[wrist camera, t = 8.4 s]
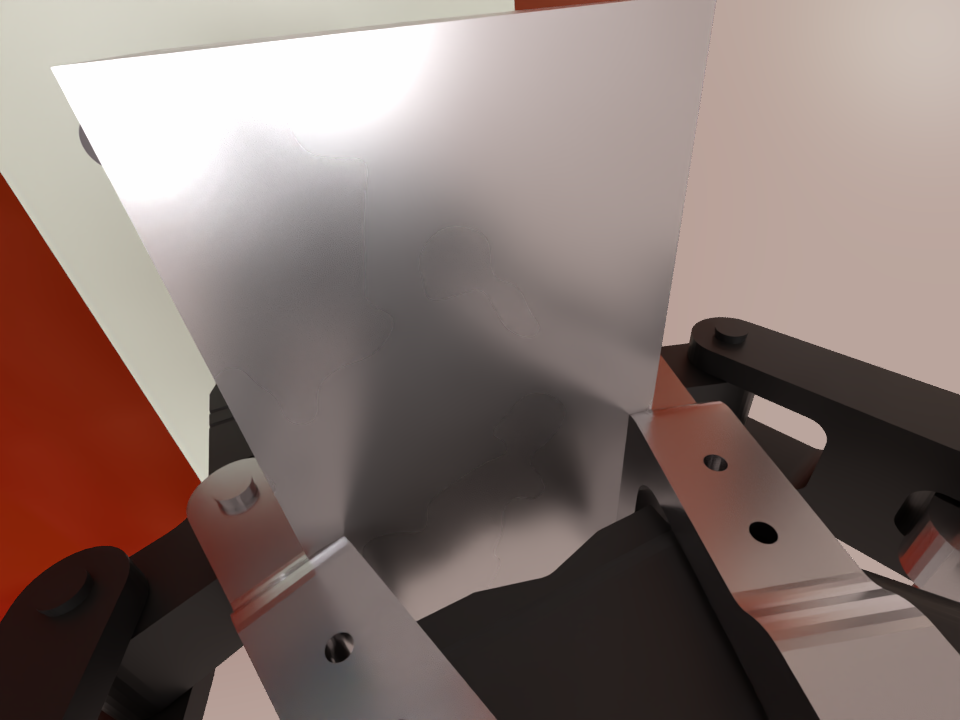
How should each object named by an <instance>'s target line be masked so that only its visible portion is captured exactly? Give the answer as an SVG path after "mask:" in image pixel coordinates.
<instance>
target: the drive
mask: <svg viewBox="0 0 960 720" xmlns="http://www.w3.org/2000/svg"><path fill="white" fill-rule="evenodd" d="M715 6H716V0H618V1H608V2H598V3H588V4H578V5H568V6H558V7H548V8H538V9H528V10H518V11H508V12H497V13H487V14H477V15H467V16H457V17H447V18H437V19H427V20H418V21H409V22H400V23H391V24H382V25H373V26H364V27H355V28H346V29H337V30H328V31H319V32H310V33H301V34H292V35H283V36H274V37H265V38H256V39H247V40H238V41H229V42H220V43H211V44H202V45H193V46H184V47H176V48H167V49H159V50H153V51H147V52H140V53H134V54H128V55H122V56H116V57H109V58H103V59H97V60H91V61H85V62H79V63H72V64H66V65H60V66H54V67H51V69H52V71H53V73H54V75H55V76H56V78H57V80H58V82H59V84H60V86H61V88H62V90H63V92H64V94H65V96H66V97H67V99H68V101H69V103H70V105H71V107H72V109H73V111H74V113H75V115H76V117H77V118H78V120H79V122H80V124H81V126H82V128H83V130H84V132H85V134H86V136H87V138H88V139H89V141H90V143H91V145H92V147H93V149H94V151H95V153H96V155H97V157H98V159H99V160H100V162H101V164H102V166H103V168H104V170H105V172H106V174H107V176H108V178H109V180H110V181H111V183H112V185H113V187H114V189H115V191H116V193H117V195H118V197H119V199H120V201H121V202H122V204H123V206H124V208H125V210H126V212H127V214H128V216H129V218H130V220H131V222H132V223H133V225H134V227H135V229H136V231H137V233H138V235H139V237H140V239H141V241H142V243H143V244H144V246H145V248H146V250H147V252H148V254H149V256H150V258H151V260H152V262H153V264H154V265H155V267H156V269H157V271H158V273H159V275H160V277H161V279H162V281H163V283H164V285H165V287H166V288H167V290H168V292H169V294H170V296H171V298H172V300H173V302H174V304H175V306H176V308H177V309H178V311H179V313H180V315H181V317H182V319H183V321H184V323H185V325H186V327H187V329H188V330H189V332H190V334H191V336H192V338H193V340H194V342H195V344H196V346H197V348H198V350H199V351H200V353H201V355H202V357H203V359H204V361H205V363H206V365H207V367H208V369H209V371H210V372H211V374H212V376H213V378H214V380H215V382H216V384H217V386H218V388H219V390H220V392H221V393H222V395H223V397H224V399H225V401H226V403H227V405H228V407H229V409H230V411H231V413H232V414H233V416H234V418H235V420H236V422H237V424H238V426H239V428H240V430H241V432H242V434H243V435H244V437H245V439H246V441H247V443H248V445H249V447H250V449H251V451H252V453H253V455H254V456H255V458H256V460H257V462H258V464H259V466H260V468H261V470H262V472H263V474H264V476H265V477H266V479H267V481H268V483H269V485H270V487H271V489H272V491H273V493H274V495H275V497H276V498H277V500H278V502H279V504H280V506H281V508H282V510H283V512H284V514H285V516H286V518H287V519H288V521H289V523H290V525H291V527H292V529H293V531H294V533H295V535H296V537H297V539H298V540H299V542H300V544H301V546H302V548H303V550H304V552H305V554H306V556H307V558H308V557H309V556H311V555H312V554H314V553H315V552H317V551H318V550H320V549H321V548H323V547H325V546H326V545H328V544H330V543H332V542H333V541H335V540H337V539H338V538H340V537H342V536H345V537H346V538H347V539H348V540H349V541H350V542H351V543H352V545H353V546H354V547H355V548H356V549H357V551H358V552H359V553H360V554H361V555H362V557H363V558H364V559H365V560H366V561H367V563H368V564H369V565H370V566H371V568H372V569H373V570H374V571H375V572H376V574H377V575H378V576H379V577H380V578H381V580H382V581H383V582H384V583H385V585H386V586H387V587H388V588H389V589H390V591H391V592H392V593H393V594H394V595H395V597H396V598H397V599H398V600H399V602H400V603H401V604H402V605H403V606H404V608H405V609H406V610H407V611H408V612H409V614H410V615H411V616H412V617H413V618H414V620H415V621H418V620H420V619H422V618H424V617H426V616H428V615H430V614H432V613H434V612H436V611H438V610H440V609H442V608H444V607H446V606H448V605H450V604H452V603H454V602H456V601H458V600H460V599H462V598H464V597H466V596H468V595H470V594H472V593H474V592H478V591H483V590H487V589H492V588H497V587H501V586H506V585H510V584H515V583H520V582H524V581H529V580H533V579H538V578H542V577H545V576H548V575H550V574H551V573H552V572H554V571H555V570H556V569H557V568H558V567H559V566H560V565H561V564H562V563H564V562H565V561H566V560H567V559H568V558H569V557H570V556H571V555H572V554H573V553H574V552H575V551H577V550H578V549H579V548H580V547H581V546H582V545H583V544H584V543H585V542H586V541H587V540H588V539H589V538H591V537H592V536H593V535H594V534H595V533H596V532H597V531H598V530H600V529H602V528H604V527H606V526H608V525H610V524H612V523H614V522H616V518H617V510H618V501H619V493H620V485H621V477H622V468H623V460H624V452H625V444H626V435H627V427H628V419H629V414H633V413H637V412H641V411H647V410H652V403H653V397H654V391H655V384H656V378H657V372H658V366H659V359H660V353H661V347H662V340H663V334H664V328H665V321H666V315H667V308H668V303H669V296H670V290H671V284H672V277H673V271H674V264H675V258H676V252H677V246H678V240H679V233H680V227H681V221H682V214H683V208H684V202H685V196H686V189H687V183H688V176H689V170H690V164H691V157H692V151H693V145H694V138H695V133H696V126H697V119H698V114H699V107H700V101H701V95H702V88H703V82H704V76H705V70H706V63H707V56H708V51H709V44H710V38H711V32H712V25H713V19H714V13H715Z"/></svg>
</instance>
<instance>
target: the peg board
mask: <svg viewBox="0 0 960 720" xmlns="http://www.w3.org/2000/svg"><path fill="white" fill-rule="evenodd" d="M508 11H515V7H514V0H0V172H1V174H2V175H3V177H4V178H5V180H6V181H7V183H8V184H9V186H10V187H11V189H12V191H13V192H14V194H15V195H16V197H17V198H18V200H19V201H20V203H21V204H22V206H23V207H24V209H25V211H26V212H27V214H28V215H29V217H30V218H31V220H32V221H33V223H34V224H35V226H36V228H37V229H38V231H39V232H40V234H41V235H42V237H43V238H44V240H45V241H46V243H47V244H48V246H49V248H50V249H51V251H52V252H53V254H54V255H55V257H56V258H57V260H58V261H59V263H60V265H61V266H62V268H63V269H64V271H65V272H66V274H67V275H68V277H69V278H70V280H71V281H72V283H73V285H74V286H75V288H76V289H77V291H78V292H79V294H80V295H81V297H82V298H83V300H84V302H85V303H86V305H87V306H88V308H89V309H90V311H91V312H92V314H93V315H94V317H95V318H96V320H97V322H98V323H99V325H100V326H101V328H102V329H103V331H104V332H105V334H106V335H107V337H108V339H109V340H110V342H111V343H112V345H113V346H114V348H115V349H116V351H117V352H118V354H119V355H120V357H121V359H122V360H123V362H124V363H125V365H126V366H127V368H128V369H129V371H130V372H131V374H132V376H133V377H134V379H135V380H136V382H137V383H138V385H139V386H140V388H141V389H142V391H143V392H144V394H145V396H146V397H147V399H148V400H149V402H150V403H151V405H152V406H153V408H154V409H155V411H156V413H157V414H158V416H159V417H160V419H161V420H162V422H163V423H164V425H165V426H166V428H167V429H168V431H169V433H170V434H171V436H172V437H173V439H174V440H175V442H176V443H177V445H178V446H179V448H180V450H181V451H182V453H183V454H184V456H185V457H186V459H187V460H188V462H189V463H190V465H191V466H192V468H193V470H194V471H195V473H196V474H197V476H198V477H199V479H200V480H201V482H203V481H204V480H205V479H206V478H207V477H208V472H209V428H210V426H209V414H210V411H209V394H210V393H211V391H212V390H213V388H214V386H215V385H216V382H215V380H214V378H213V376H212V374H211V372H210V371H209V369H208V367H207V365H206V363H205V361H204V359H203V357H202V355H201V353H200V351H199V350H198V348H197V346H196V344H195V342H194V340H193V338H192V336H191V334H190V332H189V330H188V329H187V327H186V325H185V323H184V321H183V319H182V317H181V315H180V313H179V311H178V309H177V308H176V306H175V304H174V302H173V300H172V298H171V296H170V294H169V292H168V290H167V288H166V287H165V285H164V283H163V281H162V279H161V277H160V275H159V273H158V271H157V269H156V267H155V265H154V264H153V262H152V260H151V258H150V256H149V254H148V252H147V250H146V248H145V246H144V244H143V243H142V241H141V239H140V237H139V235H138V233H137V231H136V229H135V227H134V225H133V223H132V222H131V220H130V218H129V216H128V214H127V212H126V210H125V208H124V206H123V204H122V202H121V201H120V199H119V197H118V195H117V193H116V191H115V189H114V187H113V185H112V183H111V181H110V180H109V178H108V176H107V174H106V172H105V170H104V168H103V166H102V164H101V162H100V160H99V159H98V157H97V155H96V153H95V151H94V149H93V147H92V145H91V143H90V141H89V139H88V138H87V136H86V134H85V132H84V130H83V128H82V126H81V124H80V122H79V120H78V118H77V117H76V115H75V113H74V111H73V109H72V107H71V105H70V103H69V101H68V99H67V97H66V96H65V94H64V92H63V90H62V88H61V86H60V84H59V82H58V80H57V78H56V76H55V75H54V73H53V71H52V69H51V67H54V66H60V65H66V64H72V63H79V62H85V61H91V60H97V59H103V58H109V57H116V56H122V55H128V54H134V53H140V52H147V51H153V50H159V49H167V48H176V47H184V46H193V45H202V44H211V43H220V42H229V41H238V40H247V39H256V38H265V37H274V36H283V35H292V34H301V33H310V32H319V31H328V30H337V29H346V28H355V27H364V26H373V25H382V24H391V23H400V22H409V21H418V20H427V19H437V18H447V17H457V16H467V15H477V14H487V13H497V12H508Z"/></svg>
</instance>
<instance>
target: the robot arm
mask: <svg viewBox="0 0 960 720" xmlns="http://www.w3.org/2000/svg"><path fill="white" fill-rule="evenodd" d="M754 395H758V396H760V397H762V398H764V399H767V400H769V401H771V402H774V403H776V404H778V405H780V406H783V407H785V408H787V409H790V410H792V411H794V412H797V413H799V414H801V415H803V416H806V417H808V418H810V419H812V420H814V421H815V422H817V423H818V424H819V425H820V426H821V427H822V428H823V430H824V431H825V433H826V436H827V443H826V446H825V448H824V450H819V449H815V448H813V447H811V446H809V445H806V444H804V443H802V442H800V441H798V440H796V439H794V438H792V437H790V436H787V435H785V434H783V433H781V432H779V431H776V430H775V429H773V428H771V427H768V426H766V425H764V424H762V423H760V422H758V421H755V420H754V419H751V418H749V417H748V413H749V410H750V407H751V404H752V401H753V398H754ZM209 411H210V414H209V426H210V428H209V472H208V477H207V478H206V479H205V480H204V481H203V482H202V483H200V485H199V486H198V487H197V488H196V489H195V491H194V492H193V494H192V495H191V497H190V499H189V502H188V505H187V518H186V519H185V520H184V521H183V522H182V523H181V524H180V525H178V526H177V527H176V528H175V529H173V530H172V531H170V532H169V533H167V534H166V535H164V536H162V537H161V538H159V539H158V540H156V541H154V542H153V543H151V544H150V545H148V546H146V547H145V548H143V549H142V550H140V551H138V552H137V553H135V554H134V555H132V556H130V557H128V556H127V555H126V554H125V553H124V551H122V550H121V549H119V548H116V547H112V546H99V547H93V548H89V549H85V550H82V551H80V552H77V553H75V554H72V555H70V556H68V557H66V558H64V559H63V560H61V561H59V562H57V563H56V564H54V565H53V566H51V567H50V568H48V569H47V570H45V571H44V572H43V573H42V574H40V575H39V576H38V577H37V578H35V579H34V580H33V581H32V582H31V583H30V584H29V585H28V586H27V587H26V588H25V589H24V590H23V591H22V592H21V594H20V595H19V596H18V597H17V598H16V600H15V601H14V603H13V604H12V605H11V607H10V608H9V610H8V612H7V613H6V615H5V616H4V618H3V619H2V621H1V622H0V720H202V719H203V715H204V711H205V707H206V704H207V700H208V696H209V692H210V688H211V685H212V681H213V677H214V672H215V668H216V667H217V666H219V665H220V664H221V663H222V662H223V661H224V660H226V659H227V658H228V657H229V656H231V655H232V654H233V653H235V652H236V651H237V650H238V649H240V648H241V647H242V646H243V645H244V647H245V649H246V651H247V653H248V655H249V657H250V659H251V661H252V663H253V665H254V667H255V669H256V671H257V674H258V676H259V677H260V680H261V682H262V684H263V686H264V688H265V690H266V692H267V694H268V696H269V698H270V700H271V702H272V704H273V706H274V708H275V710H276V712H277V714H278V716H279V718H280V720H960V395H959V394H956V393H953V392H950V391H947V390H944V389H941V388H938V387H936V386H933V385H930V384H927V383H924V382H921V381H918V380H915V379H912V378H909V377H907V376H903V375H901V374H898V373H895V372H892V371H889V370H886V369H883V368H880V367H877V366H874V365H871V364H869V363H866V362H863V361H860V360H857V359H854V358H851V357H848V356H846V355H842V354H840V353H837V352H834V351H831V350H828V349H825V348H822V347H819V346H816V345H813V344H810V343H808V342H805V341H802V340H799V339H796V338H793V337H790V336H788V335H785V334H782V333H779V332H776V331H773V330H770V329H767V328H764V327H761V326H758V325H755V324H753V323H750V322H747V321H743V320H740V319H734V318H726V317H725V318H724V317H718V318H709V319H705V320H702V321H700V322H698V323H696V324H695V326H693V328H692V332H691V337H690V342H689V343H688V344H680V345H672V346H664V347H661V353H660V359H659V366H658V372H657V378H656V384H655V391H654V397H653V403H652V410H647V411H641V412H637V413H633V414H629V419H628V427H627V435H626V444H625V452H624V460H623V468H622V477H621V485H620V493H619V501H618V510H617V518H616V522H614V523H612V524H610V525H608V526H606V527H604V528H602V529H600V530H598V531H597V532H596V533H595V534H594V535H593V536H592V537H591V538H589V539H588V540H587V541H586V542H585V543H584V544H583V545H582V546H581V547H580V548H579V549H578V550H577V551H575V552H574V553H573V554H572V555H571V556H570V557H569V558H568V559H567V560H566V561H565V562H564V563H562V564H561V565H560V566H559V567H558V568H557V569H556V570H555V571H554V572H552V573H551V574H550V575H548V576H545V577H542V578H538V579H533V580H529V581H524V582H520V583H515V584H510V585H506V586H501V587H497V588H492V589H487V590H483V591H478V592H474V593H472V594H470V595H468V596H466V597H464V598H462V599H460V600H458V601H456V602H454V603H452V604H450V605H448V606H446V607H444V608H442V609H440V610H438V611H436V612H434V613H432V614H430V615H428V616H426V617H424V618H422V619H420V620H418V621H415V620H414V618H413V617H412V616H411V615H410V614H409V612H408V611H407V610H406V609H405V608H404V606H403V605H402V604H401V603H400V602H399V600H398V599H397V598H396V597H395V595H394V594H393V593H392V592H391V591H390V589H389V588H388V587H387V586H386V585H385V583H384V582H383V581H382V580H381V578H380V577H379V576H378V575H377V574H376V572H375V571H374V570H373V569H372V568H371V566H370V565H369V564H368V563H367V561H366V560H365V559H364V558H363V557H362V555H361V554H360V553H359V552H358V551H357V549H356V548H355V547H354V546H353V545H352V543H351V542H350V541H349V540H348V539H347V538H346V537H345V536H342V537H340V538H338V539H337V540H335V541H333V542H332V543H330V544H328V545H326V546H325V547H323V548H321V549H320V550H318V551H317V552H315V553H314V554H312V555H311V556H309V557H308V558H307V556H306V554H305V552H304V550H303V548H302V546H301V544H300V542H299V540H298V539H297V537H296V535H295V533H294V531H293V529H292V527H291V525H290V523H289V521H288V519H287V518H286V516H285V514H284V512H283V510H282V508H281V506H280V504H279V502H278V500H277V498H276V497H275V495H274V493H273V491H272V489H271V487H270V485H269V483H268V481H267V479H266V477H265V476H264V474H263V472H262V470H261V468H260V466H259V464H258V462H257V460H256V458H255V456H254V455H253V453H252V451H251V449H250V447H249V445H248V443H247V441H246V439H245V437H244V435H243V434H242V432H241V430H240V428H239V426H238V424H237V422H236V420H235V418H234V416H233V414H232V413H231V411H230V409H229V407H228V405H227V403H226V401H225V399H224V397H223V395H222V393H221V392H220V390H219V388H218V386H217V384H216V385H215V386H214V388H213V390H212V391H211V393H210V394H209ZM836 538H837V539H839V540H841V541H843V542H844V543H846V544H848V545H849V546H851V547H853V548H855V549H857V550H858V551H860V552H862V553H864V554H865V555H867V556H869V557H871V558H872V559H874V560H876V561H878V562H879V563H881V564H883V565H885V566H887V567H888V568H890V569H892V570H893V571H895V572H897V573H899V574H901V575H903V576H904V577H906V578H908V579H909V580H911V581H913V582H914V584H913V585H912V586H910V585H907V584H904V583H901V582H898V581H895V580H892V579H889V578H887V577H883V576H880V575H878V574H875V573H872V572H869V571H866V570H863V569H860V568H859V566H858V565H857V564H856V562H855V561H854V560H853V559H852V558H851V556H850V555H849V554H848V553H847V551H846V550H845V549H844V548H843V547H842V545H841V544H840V543H839V542H838V540H837V539H836Z"/></svg>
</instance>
